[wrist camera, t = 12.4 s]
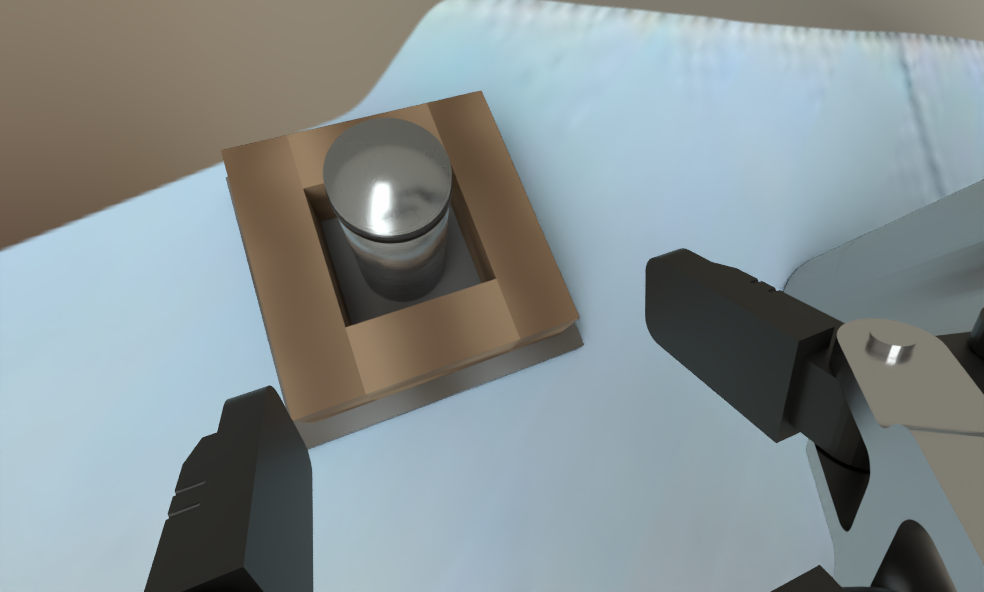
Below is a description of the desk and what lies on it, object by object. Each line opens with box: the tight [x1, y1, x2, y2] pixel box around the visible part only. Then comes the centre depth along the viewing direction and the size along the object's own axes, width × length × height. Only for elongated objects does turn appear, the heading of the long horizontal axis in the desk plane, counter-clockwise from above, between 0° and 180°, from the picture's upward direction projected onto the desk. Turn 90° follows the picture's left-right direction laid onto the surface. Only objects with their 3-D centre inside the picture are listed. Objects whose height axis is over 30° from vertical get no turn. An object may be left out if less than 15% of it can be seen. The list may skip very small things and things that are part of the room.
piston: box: [323, 118, 452, 302], centre depth 20 cm, size 4×4×9 cm
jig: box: [221, 91, 584, 450], centre depth 24 cm, size 15×15×4 cm
